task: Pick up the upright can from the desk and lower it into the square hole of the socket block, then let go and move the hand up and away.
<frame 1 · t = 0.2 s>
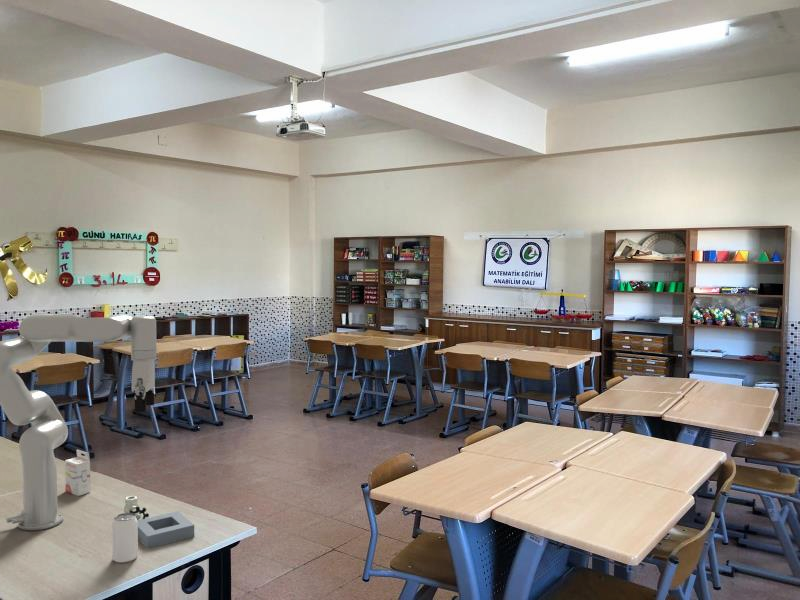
hand: (144, 408, 208), 37 cm above the table, tool pointing down, fingers open, 9 cm apart
socket block: (163, 534, 200), on the table
can: (125, 559, 184), on the table
ink cartridge box: (77, 492, 236), on the table
valve: (134, 522, 210), on the table
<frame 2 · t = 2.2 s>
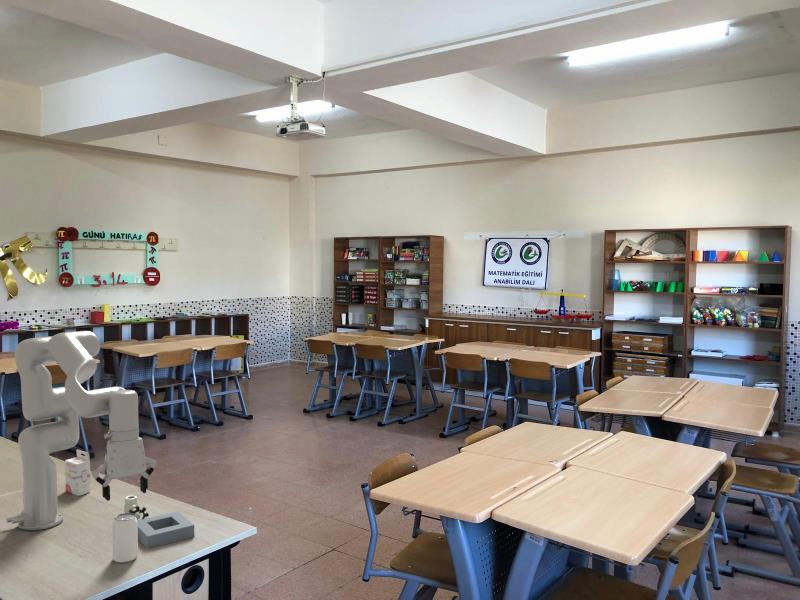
hand: (125, 495, 182), 18 cm above the table, tool pointing down, fingers open, 9 cm apart
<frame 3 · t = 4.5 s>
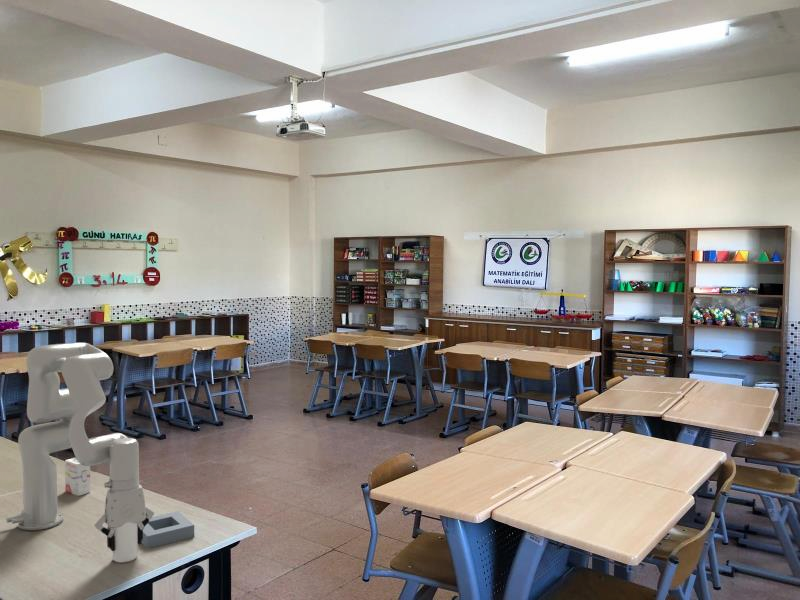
hand: (125, 545, 183), 4 cm above the table, tool pointing down, fingers closed on can, 6 cm apart
can: (125, 558, 184), on the table, touching gripper
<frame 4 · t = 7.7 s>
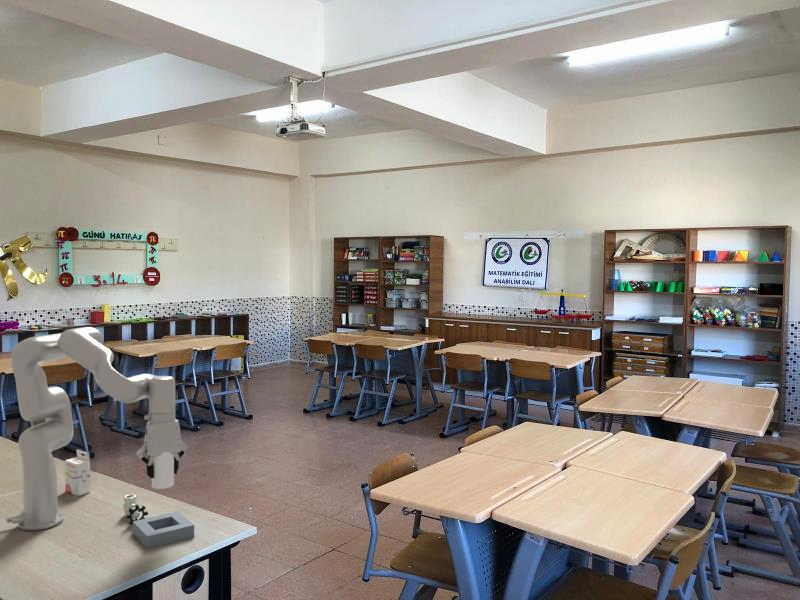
hand: (162, 474, 199), 19 cm above the table, tool pointing down, fingers closed on can, 6 cm apart
can: (162, 487, 199), point 15 cm above the table, touching gripper
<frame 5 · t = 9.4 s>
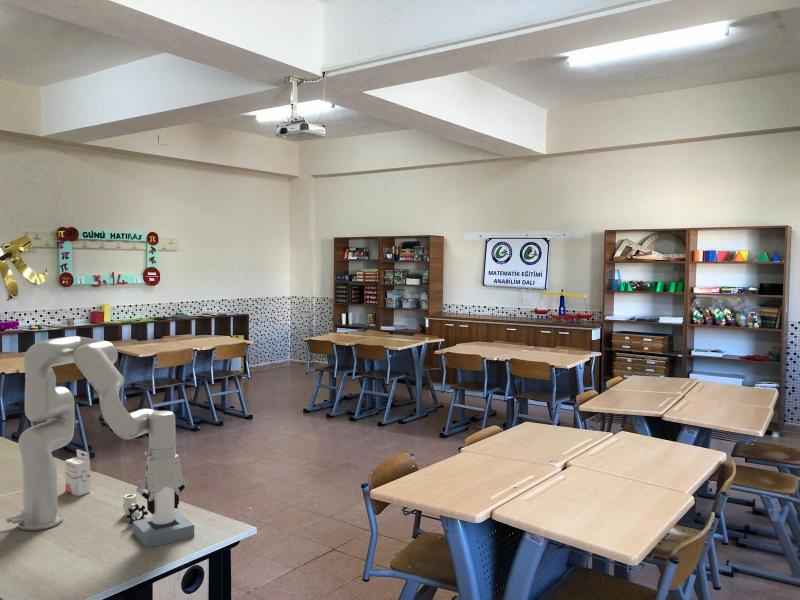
hand: (163, 509, 200), 8 cm above the table, tool pointing down, fingers closed on can, 6 cm apart
can: (163, 521, 200), point 4 cm above the table, touching gripper
when the fingers open (5 cm above the table, at t = 10.9 s): can drops 2 cm, resting in socket block.
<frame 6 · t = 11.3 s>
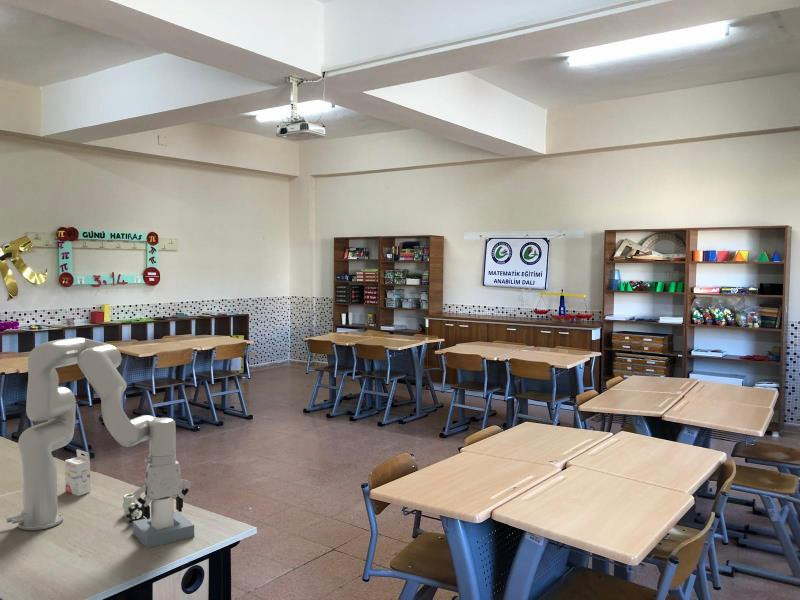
hand: (163, 514, 200), 6 cm above the table, tool pointing down, fingers open, 9 cm apart
can: (162, 534, 200), resting in socket block
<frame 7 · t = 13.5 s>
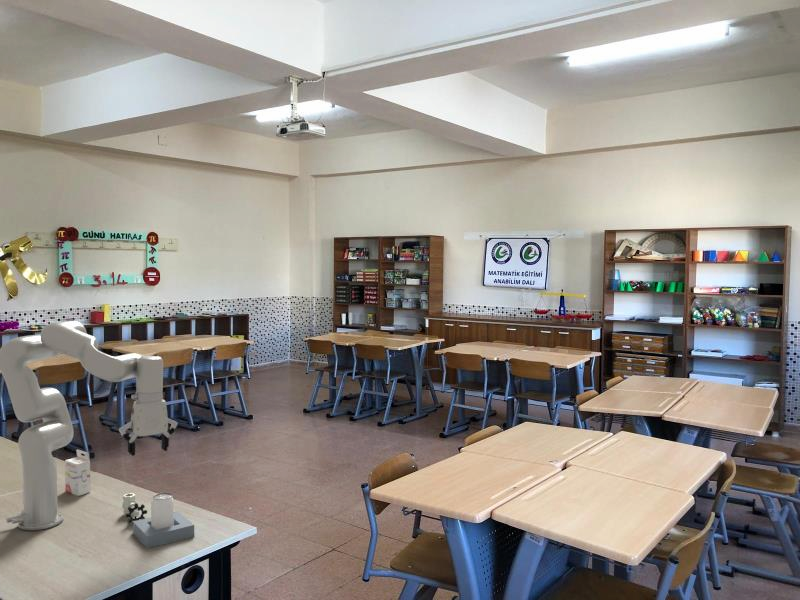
hand: (148, 452, 199), 25 cm above the table, tool pointing down, fingers open, 9 cm apart
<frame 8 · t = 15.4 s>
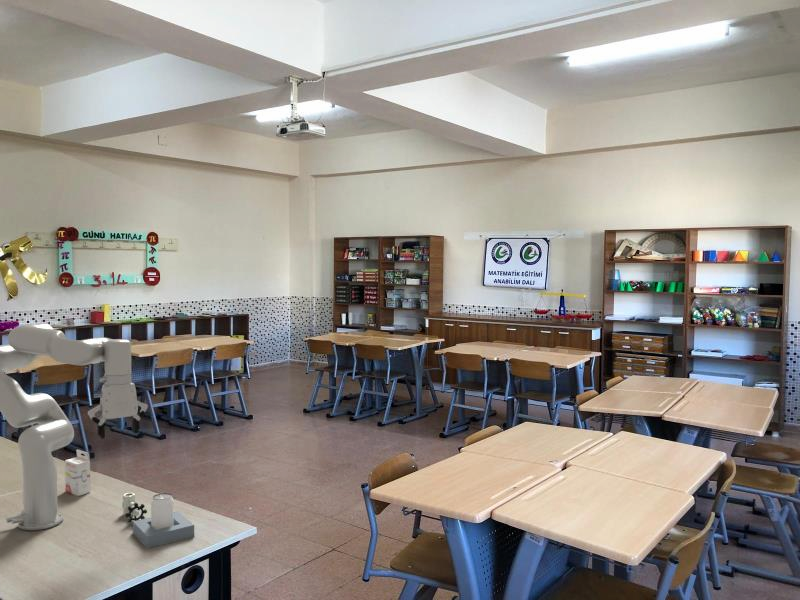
hand: (118, 435, 200), 30 cm above the table, tool pointing down, fingers open, 9 cm apart
at the end: can 0.3 cm off-centre on the socket block, point 0.0 cm above the socket block's base; can tilted 0°; the gripper is holding nothing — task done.
